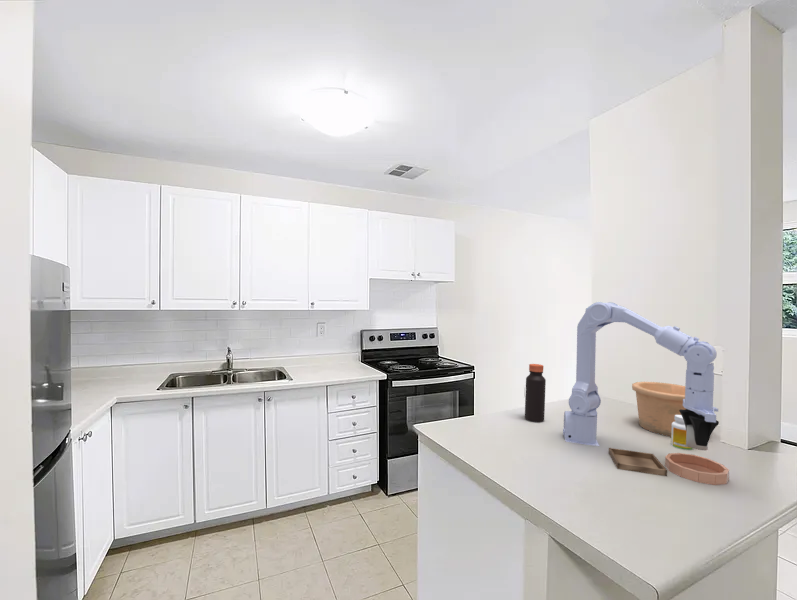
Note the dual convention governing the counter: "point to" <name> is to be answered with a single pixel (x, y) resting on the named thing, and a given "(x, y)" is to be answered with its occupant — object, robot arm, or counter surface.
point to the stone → (693, 439)
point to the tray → (637, 462)
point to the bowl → (697, 468)
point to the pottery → (658, 405)
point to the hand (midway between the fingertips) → (697, 441)
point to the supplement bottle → (679, 433)
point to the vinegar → (535, 394)
